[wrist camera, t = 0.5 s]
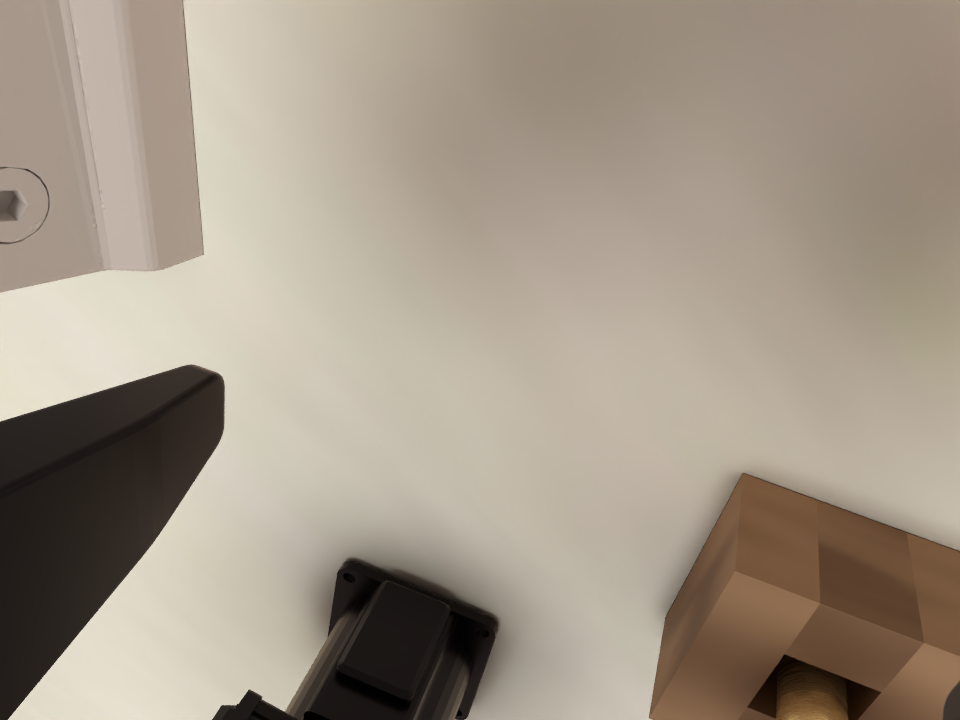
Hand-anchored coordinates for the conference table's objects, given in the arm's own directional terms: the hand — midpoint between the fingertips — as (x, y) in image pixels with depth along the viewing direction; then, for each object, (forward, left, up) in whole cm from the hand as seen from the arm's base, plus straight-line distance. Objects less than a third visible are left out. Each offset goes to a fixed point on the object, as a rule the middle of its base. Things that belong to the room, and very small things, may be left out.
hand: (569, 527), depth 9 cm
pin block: (-12, -8, -13) cm, 20 cm away
